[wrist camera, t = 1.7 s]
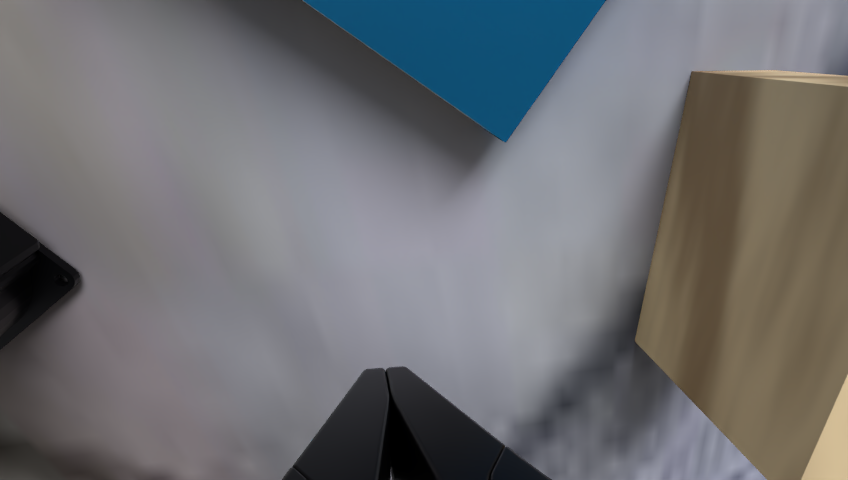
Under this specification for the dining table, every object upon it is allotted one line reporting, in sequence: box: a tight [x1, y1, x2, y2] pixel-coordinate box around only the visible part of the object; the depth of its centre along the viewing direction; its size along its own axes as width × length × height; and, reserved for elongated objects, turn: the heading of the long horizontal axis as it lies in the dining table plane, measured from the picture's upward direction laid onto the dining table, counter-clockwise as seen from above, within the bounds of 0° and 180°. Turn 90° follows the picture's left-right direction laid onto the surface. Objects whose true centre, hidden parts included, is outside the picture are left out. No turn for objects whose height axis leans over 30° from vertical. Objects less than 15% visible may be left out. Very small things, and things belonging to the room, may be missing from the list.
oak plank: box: [635, 70, 848, 480], centre depth 19 cm, size 4×14×10 cm, turn 0°
